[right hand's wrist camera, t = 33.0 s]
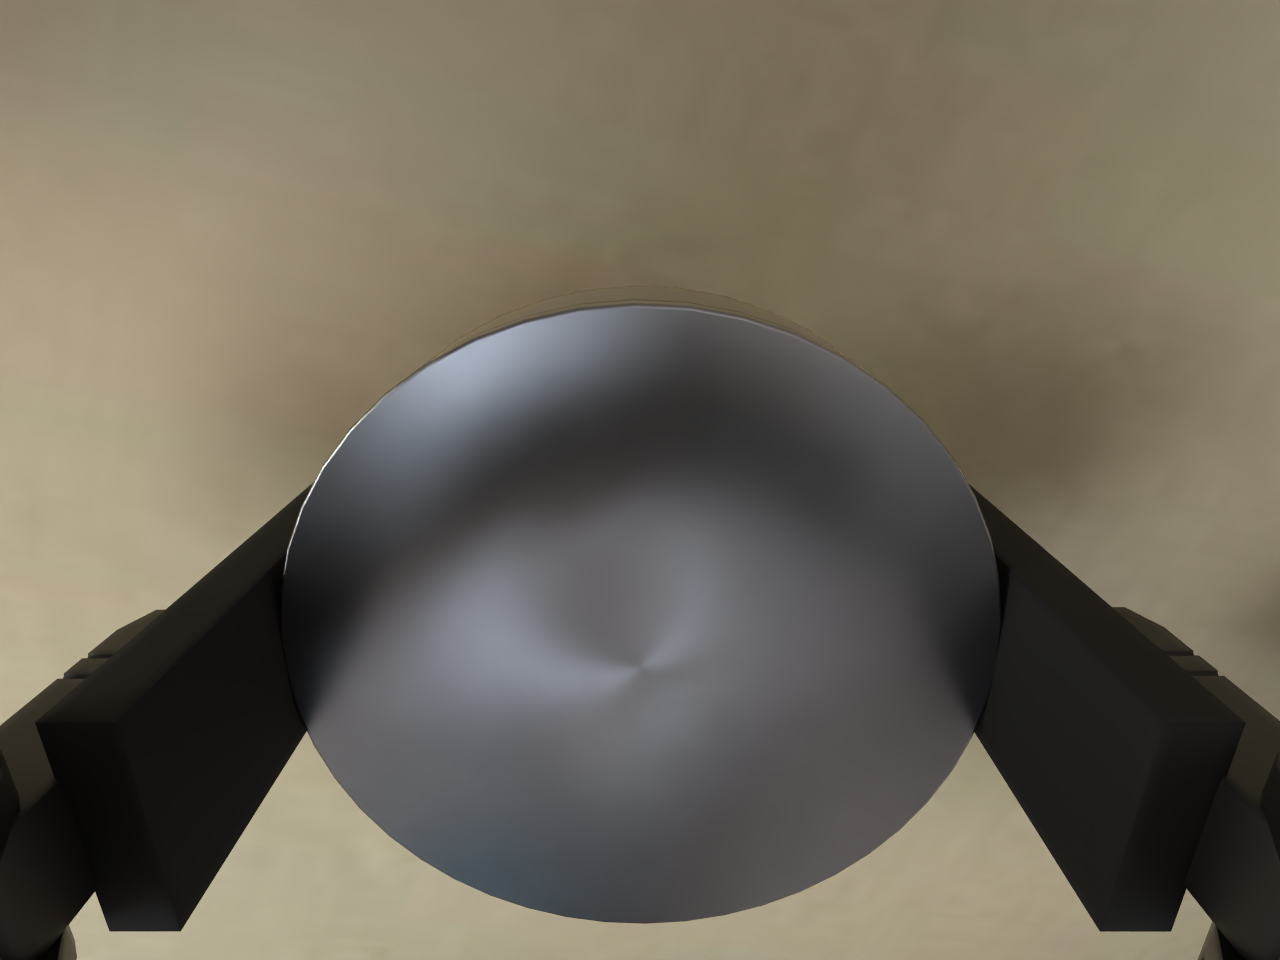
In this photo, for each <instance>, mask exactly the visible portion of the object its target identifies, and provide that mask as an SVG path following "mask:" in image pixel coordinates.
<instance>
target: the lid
mask: <svg viewBox="0 0 1280 960" xmlns="http://www.w3.org/2000/svg"><path fill="white" fill-rule="evenodd" d="M1001 623H1002V620H1001V599H1000V579H999V574H998V570H997V565H996V560H995V555H994V550H993V546H992V541H991V537H990V534H989V531H988V529H987V526H986V524H985V521H984V518H983V516H982V513H981V510H980V508H979V505H978V502H977V500H976V497H975V495H974V493H973V492H972V490H971V488H970V486H969V485H968V483H967V481H966V479H965V478H964V476H963V474H962V472H961V471H960V469H959V467H958V465H957V464H956V462H955V460H954V458H953V457H952V455H951V454H950V453H949V452H948V450H947V449H946V448H945V447H944V445H943V444H942V443H941V442H940V440H939V439H938V438H937V437H936V435H935V434H934V433H933V432H932V430H931V429H930V428H929V427H928V425H927V424H926V423H925V422H924V420H923V419H922V418H921V417H920V416H918V415H917V414H916V413H915V412H914V411H913V410H912V409H911V408H910V407H909V406H908V405H907V404H906V403H904V402H903V401H902V400H901V399H900V398H899V397H898V396H897V395H896V394H895V393H894V392H893V391H891V390H890V389H889V388H888V387H887V386H886V385H885V384H883V383H882V382H881V381H879V380H878V379H877V378H875V377H874V376H873V375H871V374H870V373H869V372H867V371H866V370H865V369H863V368H862V367H861V366H859V365H858V364H857V363H855V362H854V361H853V360H851V359H850V358H848V357H847V356H846V355H844V354H843V353H841V352H840V351H838V350H837V349H836V348H834V347H833V346H831V345H830V344H828V343H827V342H825V341H824V340H822V339H821V338H820V337H818V336H817V335H815V334H814V333H812V332H811V331H809V330H807V329H805V328H803V327H801V326H799V325H797V324H795V323H793V322H791V321H789V320H787V319H785V318H783V317H781V316H779V315H777V314H775V313H773V312H771V311H768V310H765V309H762V308H759V307H756V306H753V305H750V304H747V303H744V302H741V301H738V300H735V299H732V298H729V297H725V296H720V295H715V294H709V293H704V292H699V291H693V290H688V289H683V288H666V287H647V286H628V287H616V288H604V289H592V290H585V291H581V292H576V293H572V294H567V295H563V296H558V297H554V298H549V299H545V300H542V301H539V302H536V303H534V304H531V305H528V306H525V307H523V308H520V309H517V310H515V311H512V312H509V313H507V314H504V315H501V316H499V317H497V318H496V319H494V320H492V321H490V322H488V323H486V324H484V325H483V326H481V327H479V328H477V329H475V330H473V331H472V332H470V333H468V334H466V335H464V336H462V337H461V338H459V339H458V340H457V341H455V342H454V343H453V344H451V345H450V346H449V347H447V348H446V349H445V350H443V351H442V352H440V353H439V354H438V355H436V356H435V357H434V358H432V359H431V360H430V361H428V362H427V363H426V364H424V365H423V366H422V367H420V368H419V369H418V370H416V371H415V372H414V373H412V374H411V375H410V376H408V377H407V378H406V379H404V380H403V381H402V382H400V383H399V384H398V385H396V386H395V387H394V388H392V389H391V390H390V391H388V392H387V393H385V394H384V395H383V396H382V397H381V398H380V399H379V400H378V401H377V402H376V403H375V404H374V405H373V406H372V407H371V408H370V409H369V410H368V411H367V412H366V413H365V414H364V415H363V416H362V417H361V418H360V419H359V420H358V421H357V422H356V423H355V424H354V425H353V426H352V427H351V428H350V430H349V431H348V432H347V434H346V435H345V436H344V438H343V439H342V441H341V442H340V443H339V445H338V446H337V447H336V449H335V450H334V451H333V453H332V454H331V455H330V457H329V458H328V459H327V461H326V462H325V464H324V465H323V466H322V468H321V470H320V472H319V474H318V476H317V478H316V480H315V482H314V484H313V485H312V487H311V489H310V491H309V493H308V495H307V497H306V499H305V501H304V503H303V505H302V507H301V510H300V513H299V516H298V519H297V522H296V525H295V528H294V531H293V533H292V536H291V539H290V542H289V545H288V549H287V555H286V561H285V567H284V573H283V579H282V585H281V608H280V633H281V640H282V647H283V653H284V658H285V663H286V668H287V673H288V678H289V682H290V687H291V690H292V693H293V697H294V700H295V703H296V707H297V710H298V712H299V714H300V716H301V719H302V721H303V723H304V725H305V727H306V729H307V732H308V734H309V736H310V738H311V740H312V742H313V744H314V746H315V748H316V749H317V751H318V753H319V754H320V756H321V757H322V759H323V760H324V762H325V764H326V765H327V767H328V768H329V770H330V771H331V773H332V775H333V776H334V778H335V779H336V780H337V782H338V783H339V784H340V785H341V786H342V788H343V789H344V790H345V791H346V792H347V794H348V795H349V796H350V797H351V798H352V799H353V801H354V802H355V803H356V804H357V805H358V807H359V808H360V809H361V810H362V811H363V812H364V813H365V814H366V815H367V816H368V817H370V818H371V819H372V820H373V821H374V822H375V823H376V824H377V825H378V826H379V827H380V828H381V829H382V830H383V831H384V832H386V833H387V834H388V835H389V836H390V837H391V838H393V839H394V840H395V841H397V842H398V843H399V844H401V845H402V846H403V847H405V848H406V849H407V850H409V851H410V852H412V853H413V854H414V855H416V856H417V857H418V858H420V859H421V860H423V861H425V862H426V863H428V864H430V865H431V866H433V867H435V868H436V869H438V870H440V871H442V872H443V873H445V874H447V875H448V876H450V877H452V878H454V879H455V880H458V881H460V882H462V883H464V884H466V885H469V886H471V887H473V888H475V889H478V890H480V891H482V892H484V893H486V894H489V895H491V896H494V897H497V898H500V899H503V900H506V901H509V902H512V903H515V904H518V905H521V906H524V907H527V908H530V909H535V910H539V911H543V912H548V913H552V914H556V915H561V916H565V917H572V918H579V919H587V920H594V921H602V922H619V923H662V922H679V921H689V920H696V919H702V918H709V917H715V916H722V915H727V914H731V913H734V912H738V911H742V910H746V909H750V908H754V907H758V906H762V905H765V904H768V903H770V902H773V901H776V900H779V899H781V898H784V897H787V896H790V895H792V894H795V893H798V892H801V891H803V890H805V889H807V888H809V887H811V886H813V885H815V884H817V883H819V882H821V881H823V880H825V879H827V878H830V877H832V876H834V875H836V874H837V873H839V872H840V871H842V870H844V869H845V868H847V867H849V866H850V865H852V864H853V863H855V862H857V861H858V860H860V859H861V858H863V857H865V856H866V855H868V854H869V853H871V852H872V851H873V850H874V849H876V848H877V847H878V846H880V845H881V844H882V843H883V842H885V841H886V840H887V839H888V838H890V837H891V836H892V835H894V834H895V833H896V832H897V831H899V830H900V829H901V828H902V827H903V826H904V825H905V824H906V823H907V822H908V821H909V820H910V819H911V818H912V817H913V816H914V815H915V814H916V813H917V812H918V811H919V810H920V809H921V808H922V807H923V806H924V805H925V804H926V803H927V802H928V801H929V799H930V798H931V797H932V796H933V794H934V793H935V792H936V791H937V789H938V788H939V787H940V785H941V784H942V783H943V782H944V780H945V779H946V778H947V777H948V775H949V774H950V773H951V771H952V770H953V768H954V767H955V765H956V763H957V761H958V760H959V758H960V756H961V755H962V753H963V751H964V750H965V748H966V746H967V745H968V743H969V741H970V740H971V738H972V736H973V733H974V731H975V729H976V726H977V724H978V722H979V719H980V717H981V714H982V712H983V710H984V707H985V705H986V703H987V700H988V696H989V692H990V687H991V682H992V678H993V673H994V669H995V664H996V659H997V653H998V648H999V642H1000V632H1001Z"/></svg>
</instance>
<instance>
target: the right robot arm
mask: <svg viewBox="0 0 1280 960" xmlns="http://www.w3.org/2000/svg"><path fill="white" fill-rule="evenodd" d="M313 484H314V483H312V484H311V485H310V486H309V487H308V488H307V489H305V490H304V491H303V492H302V493H301V494H300V495H298V496H297V497H296V498H295V499H294V500H293V501H292V502H290V503H289V504H288V505H287V506H286V507H285V508H283V509H282V510H281V511H280V512H279V513H278V514H276V515H275V516H274V517H273V518H272V519H271V520H269V521H268V522H267V523H266V524H265V525H264V526H262V527H261V528H260V529H259V530H258V531H257V532H255V533H254V534H253V535H252V536H251V537H250V538H249V539H247V540H246V541H245V542H244V543H243V544H242V545H240V546H239V547H238V548H237V549H236V550H235V551H233V552H232V553H231V554H230V555H229V556H228V557H226V558H225V559H224V560H223V561H222V562H221V563H219V564H218V565H217V566H216V567H215V568H214V569H213V570H211V571H210V572H209V573H208V574H207V575H206V576H204V577H203V578H202V579H201V580H200V581H199V582H197V583H196V584H195V585H194V586H193V587H192V588H190V589H189V590H188V591H187V592H186V593H185V594H183V595H182V596H181V597H180V598H179V599H178V600H176V601H175V602H174V603H173V604H172V605H171V606H170V607H168V608H167V609H166V610H155V611H153V612H151V613H149V614H147V615H145V616H144V617H142V618H140V619H138V620H136V621H134V622H132V623H130V624H128V625H126V626H124V627H122V628H120V629H118V630H117V631H115V632H114V633H113V634H112V635H110V636H109V637H108V638H107V639H106V640H104V641H103V642H102V643H101V644H99V645H98V646H97V647H96V648H95V649H93V650H92V651H91V652H90V653H88V658H82V659H81V660H80V661H79V662H77V663H76V664H75V665H74V666H73V667H71V668H70V669H69V670H68V671H67V672H65V673H64V677H63V679H57V680H56V681H54V682H53V683H52V684H51V685H49V686H48V687H47V688H46V689H45V690H43V691H42V692H41V693H40V694H38V695H37V696H36V697H35V698H34V699H32V700H31V701H30V702H29V703H27V704H26V705H25V706H24V707H23V708H21V709H20V710H19V711H18V712H16V713H15V714H14V715H13V716H12V717H10V718H9V719H8V720H7V721H5V722H4V723H3V724H2V725H1V726H0V960H76V958H77V954H76V947H75V940H74V937H73V935H72V932H71V929H70V927H69V923H70V922H71V921H72V920H73V918H74V917H75V916H76V915H77V913H78V912H79V911H80V909H81V908H82V907H83V906H84V904H85V903H86V902H87V901H88V899H89V898H90V897H91V896H92V894H93V893H94V892H96V895H97V897H98V900H99V903H100V906H101V909H102V911H103V914H104V917H105V920H106V923H107V925H108V928H109V931H181V930H182V928H183V927H184V925H185V923H186V922H187V920H188V919H189V917H190V915H191V914H192V912H193V911H194V909H195V908H196V906H197V904H198V903H199V901H200V900H201V898H202V896H203V895H204V893H205V892H206V890H207V888H208V887H209V885H210V884H211V882H212V881H213V879H214V877H215V876H216V874H217V873H218V871H219V869H220V868H221V866H222V865H223V863H224V861H225V860H226V858H227V857H228V855H229V853H230V852H231V850H232V849H233V847H234V846H235V844H236V842H237V841H238V839H239V838H240V836H241V834H242V833H243V831H244V830H245V828H246V826H247V825H248V823H249V822H250V820H251V819H252V817H253V815H254V814H255V812H256V811H257V809H258V807H259V806H260V804H261V803H262V801H263V799H264V798H265V796H266V795H267V793H268V792H269V790H270V788H271V787H272V785H273V784H274V782H275V780H276V779H277V777H278V776H279V774H280V772H281V771H282V769H283V768H284V766H285V765H286V763H287V761H288V760H289V758H290V757H291V755H292V753H293V752H294V750H295V749H296V747H297V745H298V744H299V742H300V741H301V739H302V738H303V736H304V734H305V733H306V731H307V729H306V727H305V725H304V723H303V721H302V719H301V716H300V714H299V712H298V710H297V707H296V703H295V700H294V697H293V693H292V690H291V687H290V682H289V678H288V673H287V668H286V663H285V658H284V653H283V647H282V640H281V633H280V608H281V585H282V579H283V573H284V567H285V561H286V555H287V549H288V545H289V542H290V539H291V536H292V533H293V531H294V528H295V525H296V522H297V519H298V516H299V513H300V510H301V507H302V505H303V503H304V501H305V499H306V497H307V495H308V493H309V491H310V489H311V487H312V485H313ZM968 485H969V484H968ZM969 486H970V485H969ZM970 488H971V490H972V492H973V493H974V495H975V497H976V500H977V502H978V505H979V508H980V510H981V513H982V516H983V518H984V521H985V524H986V526H987V529H988V531H989V534H990V537H991V541H992V546H993V550H994V555H995V560H996V565H997V570H998V574H999V579H1000V599H1001V620H1002V623H1001V632H1000V642H999V648H998V653H997V659H996V664H995V669H994V673H993V678H992V682H991V687H990V692H989V696H988V700H987V703H986V705H985V707H984V710H983V712H982V714H981V717H980V719H979V722H978V724H977V726H976V729H975V731H974V732H975V734H976V735H977V737H978V738H979V740H980V742H981V743H982V745H983V746H984V748H985V749H986V751H987V753H988V754H989V756H990V757H991V759H992V761H993V762H994V764H995V765H996V767H997V769H998V770H999V772H1000V773H1001V775H1002V776H1003V778H1004V780H1005V781H1006V783H1007V784H1008V786H1009V788H1010V789H1011V791H1012V792H1013V794H1014V796H1015V797H1016V799H1017V800H1018V802H1019V803H1020V805H1021V807H1022V808H1023V810H1024V811H1025V813H1026V815H1027V816H1028V818H1029V819H1030V821H1031V823H1032V824H1033V826H1034V827H1035V829H1036V830H1037V832H1038V834H1039V835H1040V837H1041V838H1042V840H1043V842H1044V843H1045V845H1046V846H1047V848H1048V850H1049V851H1050V853H1051V854H1052V856H1053V857H1054V859H1055V861H1056V862H1057V864H1058V865H1059V867H1060V869H1061V870H1062V872H1063V873H1064V875H1065V877H1066V878H1067V880H1068V881H1069V883H1070V884H1071V886H1072V888H1073V889H1074V891H1075V892H1076V894H1077V896H1078V897H1079V899H1080V900H1081V902H1082V904H1083V905H1084V907H1085V908H1086V910H1087V911H1088V913H1089V915H1090V916H1091V918H1092V919H1093V921H1094V923H1095V924H1096V926H1097V927H1098V929H1099V931H1171V930H1172V927H1173V924H1174V922H1175V919H1176V916H1177V913H1178V910H1179V908H1180V905H1181V902H1182V899H1183V897H1184V894H1185V891H1186V888H1187V889H1188V891H1189V892H1190V893H1191V894H1192V896H1193V897H1194V898H1195V900H1196V901H1197V902H1198V903H1199V905H1200V906H1201V907H1202V908H1203V910H1204V911H1205V912H1206V913H1207V915H1208V916H1209V917H1210V918H1211V920H1212V921H1213V922H1212V924H1211V927H1210V929H1209V932H1208V934H1207V937H1206V940H1205V942H1204V945H1203V947H1202V950H1201V953H1200V955H1199V958H1198V960H1280V721H1279V720H1278V719H1276V718H1275V717H1274V716H1273V715H1271V714H1270V713H1269V712H1268V711H1266V710H1265V709H1264V708H1263V707H1262V706H1260V705H1259V704H1258V703H1257V702H1255V701H1254V700H1253V699H1252V698H1250V697H1249V696H1248V695H1247V694H1246V693H1244V692H1243V691H1242V690H1241V689H1239V688H1238V687H1237V686H1236V685H1234V684H1233V683H1232V682H1231V681H1230V680H1228V679H1227V678H1226V677H1225V676H1218V671H1217V670H1216V669H1215V668H1214V667H1212V666H1211V665H1210V664H1209V663H1207V662H1206V661H1205V660H1204V659H1202V658H1201V657H1200V656H1194V654H1193V650H1191V649H1190V648H1189V647H1188V646H1186V645H1185V644H1184V643H1183V642H1182V641H1180V640H1179V639H1178V638H1177V637H1175V636H1174V635H1173V634H1172V633H1171V632H1169V631H1168V630H1167V629H1166V628H1164V627H1162V626H1160V625H1159V624H1157V623H1155V622H1153V621H1151V620H1149V619H1147V618H1145V617H1143V616H1141V615H1139V614H1137V613H1135V612H1133V611H1131V610H1129V609H1127V608H1125V607H1111V606H1110V605H1109V604H1108V603H1106V602H1105V601H1104V600H1103V599H1102V598H1101V597H1099V596H1098V595H1097V594H1096V593H1095V592H1094V591H1092V590H1091V589H1090V588H1089V587H1088V586H1087V585H1085V584H1084V583H1083V582H1082V581H1081V580H1080V579H1078V578H1077V577H1076V576H1075V575H1074V574H1073V573H1072V572H1070V571H1069V570H1068V569H1067V568H1066V567H1065V566H1063V565H1062V564H1061V563H1060V562H1059V561H1058V560H1056V559H1055V558H1054V557H1053V556H1052V555H1051V554H1049V553H1048V552H1047V551H1046V550H1045V549H1044V548H1042V547H1041V546H1040V545H1039V544H1038V543H1037V542H1035V541H1034V540H1033V539H1032V538H1031V537H1030V536H1029V535H1027V534H1026V533H1025V532H1024V531H1023V530H1022V529H1020V528H1019V527H1018V526H1017V525H1016V524H1015V523H1013V522H1012V521H1011V520H1010V519H1009V518H1008V517H1006V516H1005V515H1004V514H1003V513H1002V512H1001V511H999V510H998V509H997V508H996V507H995V506H994V505H992V504H991V503H990V502H989V501H988V500H987V499H986V498H984V497H983V496H982V495H981V494H980V493H979V492H977V491H976V490H975V489H974V488H973V487H972V486H970Z"/></svg>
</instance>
